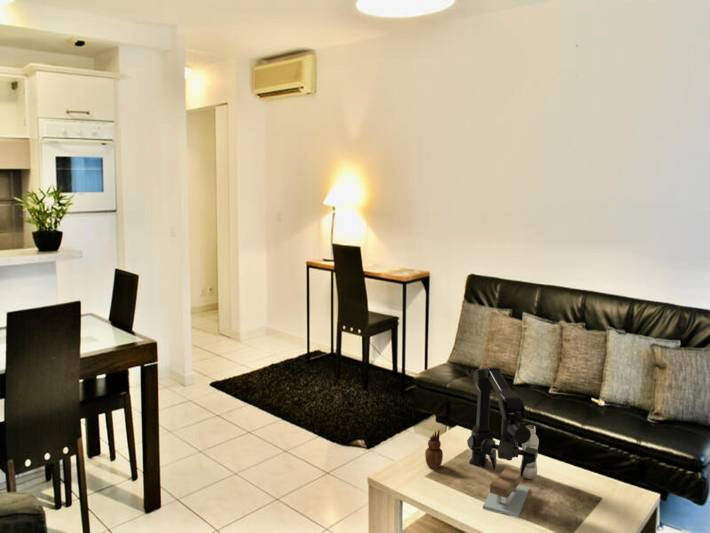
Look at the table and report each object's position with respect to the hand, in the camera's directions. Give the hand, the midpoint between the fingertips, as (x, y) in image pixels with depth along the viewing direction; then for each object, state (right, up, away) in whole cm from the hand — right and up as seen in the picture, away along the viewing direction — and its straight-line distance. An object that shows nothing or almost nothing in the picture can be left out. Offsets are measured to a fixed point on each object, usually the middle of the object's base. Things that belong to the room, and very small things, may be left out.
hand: (507, 473), depth 201 cm
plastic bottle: (+13, -8, +17) cm, 23 cm away
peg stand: (0, -10, +1) cm, 10 cm away
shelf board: (0, -5, +1) cm, 5 cm away
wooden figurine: (-23, -7, +25) cm, 35 cm away
